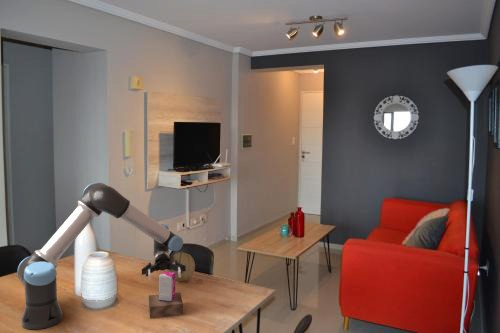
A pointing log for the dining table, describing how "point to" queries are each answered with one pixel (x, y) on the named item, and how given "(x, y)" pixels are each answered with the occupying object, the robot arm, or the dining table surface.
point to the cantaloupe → (184, 260)
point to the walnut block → (165, 306)
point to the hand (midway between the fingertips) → (164, 276)
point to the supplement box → (167, 286)
